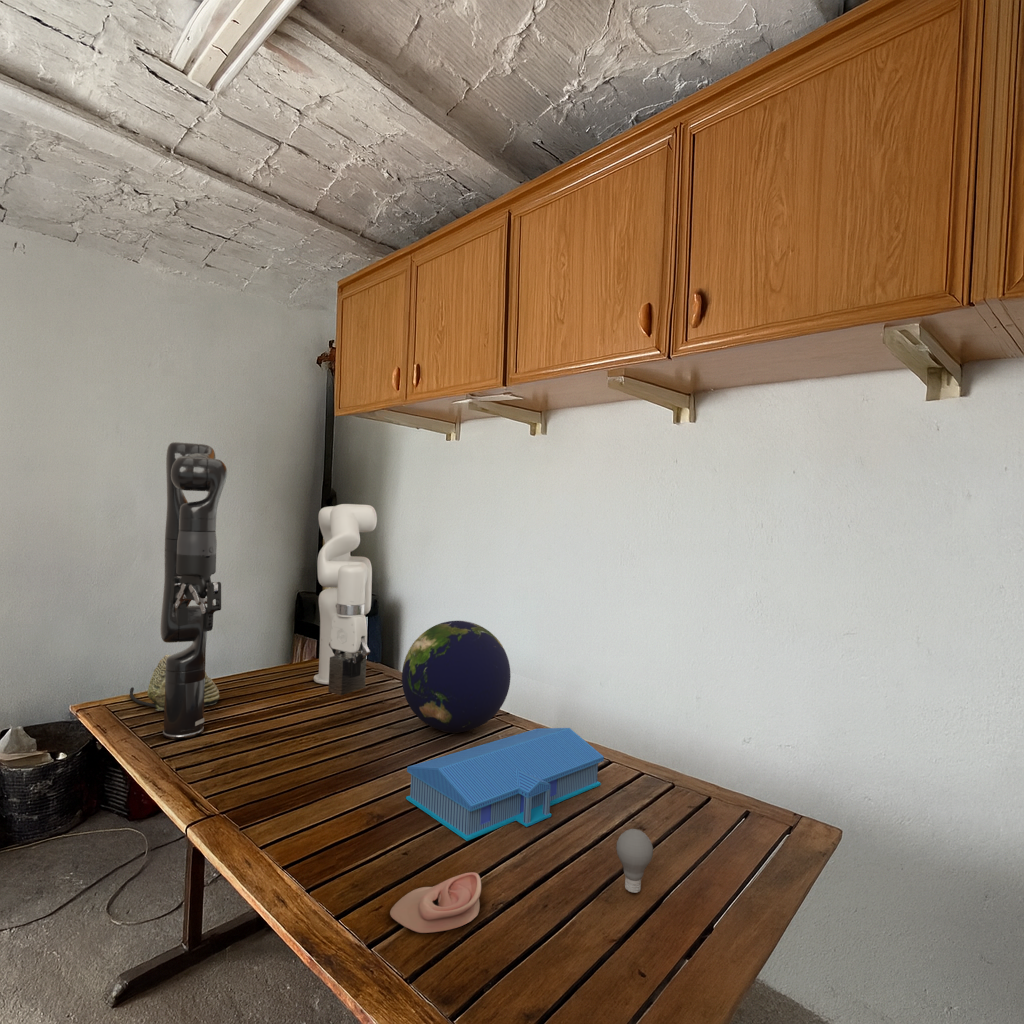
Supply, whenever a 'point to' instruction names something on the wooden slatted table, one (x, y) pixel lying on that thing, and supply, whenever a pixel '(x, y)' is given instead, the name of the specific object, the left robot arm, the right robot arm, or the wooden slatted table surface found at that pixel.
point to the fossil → (158, 687)
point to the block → (345, 675)
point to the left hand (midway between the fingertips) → (194, 628)
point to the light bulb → (634, 857)
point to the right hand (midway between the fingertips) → (347, 673)
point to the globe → (456, 676)
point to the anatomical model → (440, 905)
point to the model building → (504, 780)
